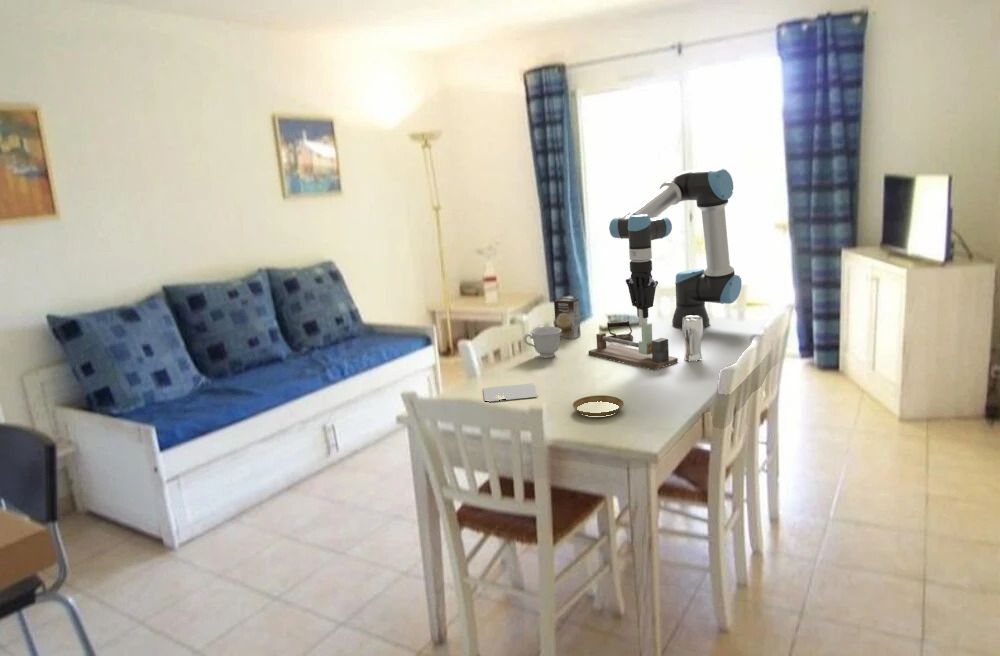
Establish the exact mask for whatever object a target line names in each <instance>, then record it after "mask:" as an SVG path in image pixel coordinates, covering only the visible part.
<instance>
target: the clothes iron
mask: <svg viewBox="0 0 1000 656" xmlns="http://www.w3.org/2000/svg"><path fill="white" fill-rule="evenodd" d="M616 327H618V328H619V327H628V328H629V330H630V332H629V333H623V334H616V333H614V332H611V329H610V328H616ZM607 329H608V332H609V334H610V335H608V336H607V335H606V336H607V337H612V338H617V339H621V340H626V341H631V342H634V336H633V334H632V333H633V330H632V327H631V324H630V321H629V320H627V321H619V322H618V321H617V322H607Z"/></svg>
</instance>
